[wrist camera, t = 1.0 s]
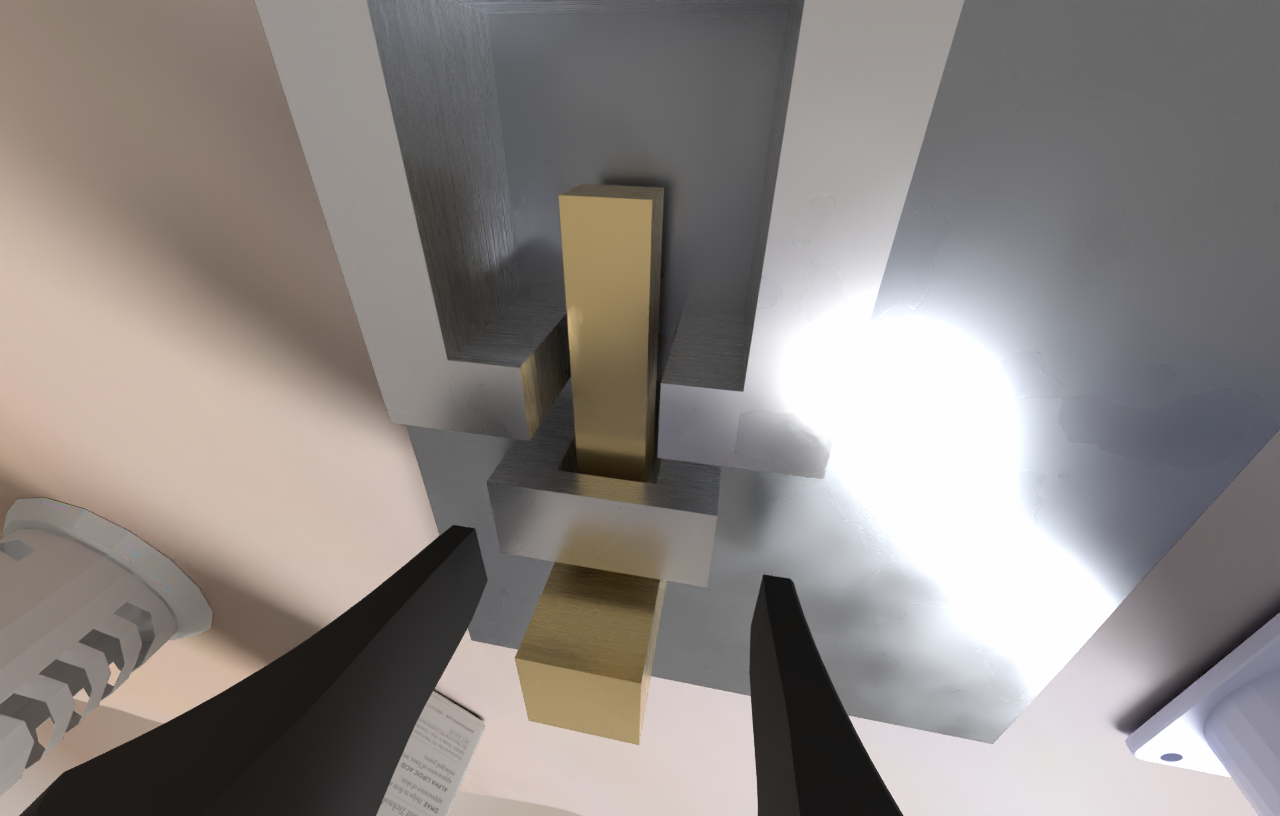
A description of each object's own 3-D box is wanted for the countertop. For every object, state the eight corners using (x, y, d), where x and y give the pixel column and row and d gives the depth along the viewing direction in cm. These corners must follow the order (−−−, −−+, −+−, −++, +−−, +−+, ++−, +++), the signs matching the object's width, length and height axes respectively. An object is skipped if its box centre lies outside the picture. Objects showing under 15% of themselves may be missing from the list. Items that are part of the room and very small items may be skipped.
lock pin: (694, 189, 8) (656, 253, 4) (666, 583, 13) (638, 744, 10) (553, 182, 8) (419, 237, 5) (582, 569, 14) (528, 720, 10)
